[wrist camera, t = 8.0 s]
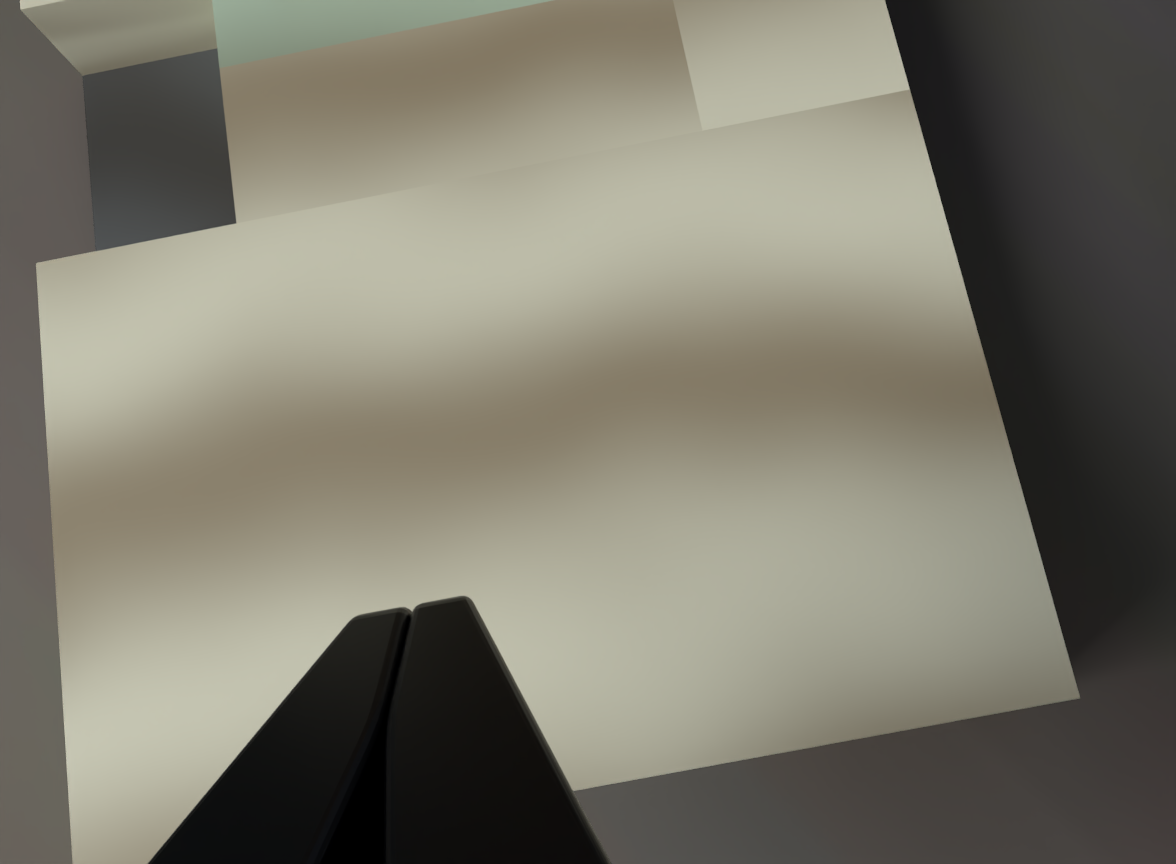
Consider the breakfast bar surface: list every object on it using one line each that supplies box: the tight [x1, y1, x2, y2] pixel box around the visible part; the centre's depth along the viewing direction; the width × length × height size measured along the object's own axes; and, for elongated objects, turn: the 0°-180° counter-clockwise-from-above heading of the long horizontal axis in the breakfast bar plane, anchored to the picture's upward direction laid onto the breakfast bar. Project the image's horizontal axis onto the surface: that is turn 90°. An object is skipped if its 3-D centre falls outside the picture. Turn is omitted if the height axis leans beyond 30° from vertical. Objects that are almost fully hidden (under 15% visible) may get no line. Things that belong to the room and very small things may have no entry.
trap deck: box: [20, 0, 1080, 864], centre depth 20 cm, size 22×15×2 cm
